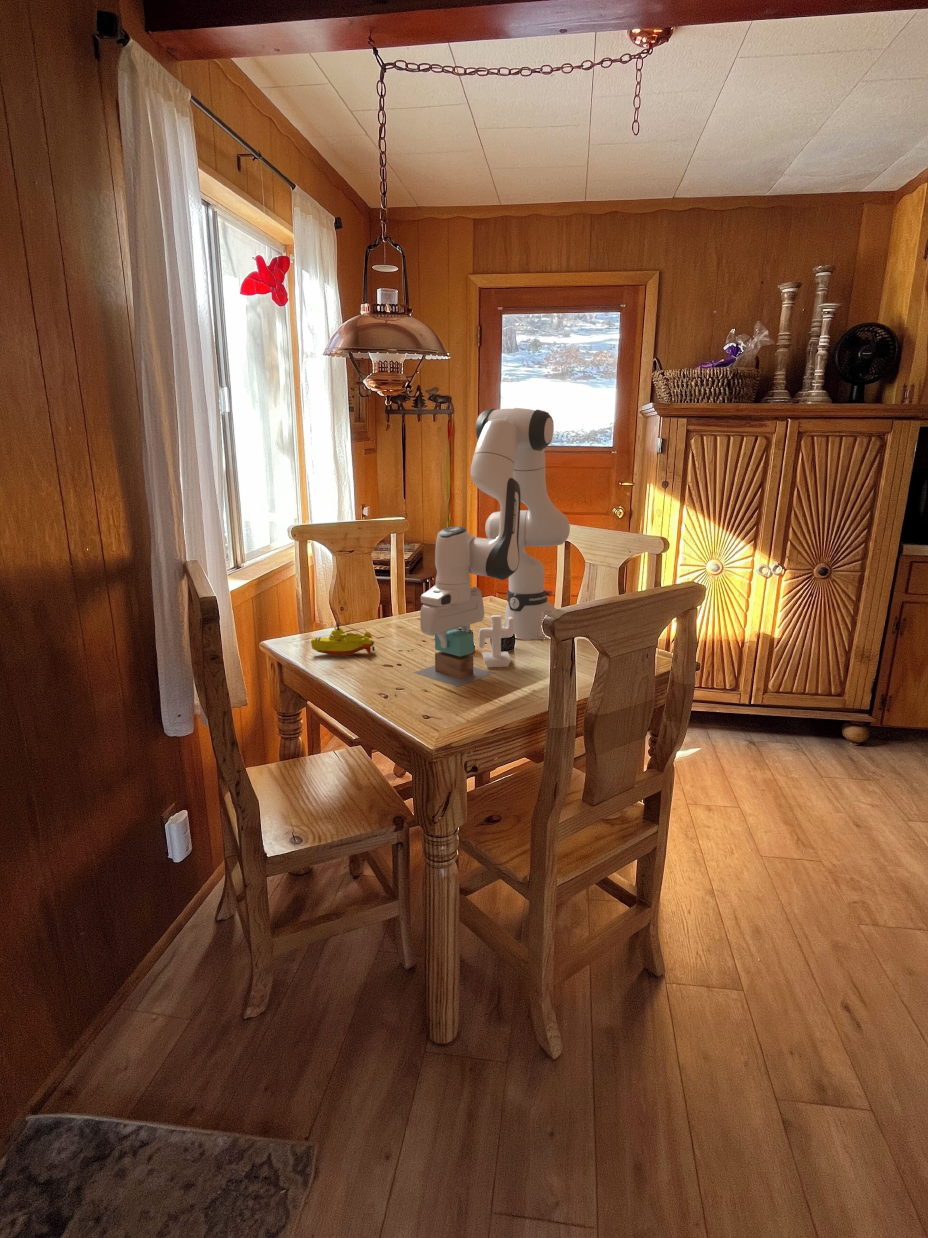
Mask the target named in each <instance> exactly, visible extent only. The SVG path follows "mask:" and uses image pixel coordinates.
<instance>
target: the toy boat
mask: <svg viewBox="0 0 928 1238" xmlns="http://www.w3.org/2000/svg"><path fill="white" fill-rule="evenodd" d="M339 625H342V626H344V627H347V628H349V629H351V630H354V631H356V632H358V633H360V634H358V633H352V632H350V633H349V632H347V631H346V630H344V629H343V628H341V627H340V626H339ZM346 632H347V633H346ZM361 634H363V635H361ZM373 638H374V637H373V635H372V634H371V632H370V631H365V633H364V632H362V631H359V630H357V629H354V628H353V627H350V626H347V625H346V624H344V623H340V622H339V621H337V626H336V627H334V629H333V630H331V632H330V634H329V636H328V637H326V636H325V637H320V636H319V637H314V638H312V639H311V641H310V644H311V649H312V650H314V651H316V652H318V653H321V654H326V655H329V656H334V657H336V656H352V655H354V654H355V653H358V652H360V651H362V650H366V652H367V654H368V655H371V654H372V653H371V650H372V652H375V650H376V649H375V645H374V644H375V640H373Z"/></svg>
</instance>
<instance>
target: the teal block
mask: <svg viewBox="0 0 928 1238" xmlns="http://www.w3.org/2000/svg"><path fill="white" fill-rule="evenodd" d="M461 630H462V629H461ZM461 630H460V629H458V628H457V629H453V630H450V631H447V635H446V636H445V637H446V639H447V640H449V641H450V646H449V647H447V648H442V647H441V641H440V639H439V637H438V636H437V634H436V635H434V649H435V651H437V652H440V651H442V652H445V653H449V654H452V655H456V656H459V657H461V656H464V655H467V654H469V655H471V654H472V653H474V651H475V649H474V647H475V645H474V642H475V641H474V640H475V639H474V637H475V636H474V632H470V631H469V632H465V631H461Z"/></svg>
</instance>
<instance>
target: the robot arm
mask: <svg viewBox="0 0 928 1238" xmlns="http://www.w3.org/2000/svg"><path fill="white" fill-rule="evenodd" d="M554 429H555V428H554V419H553V417H552V416H551V414H550V413H549V412H547V411H545V410H542V409H535V410H534V409H528V408H522V407H520V408H519V407H514V408H499V409H496V408H489V409H486V410H483V411H482V412H481V413H480V414H479V415H478V417H477V418H476V422H475V437H476V439H477V442H476V446H475V449H474V453H473V456H472V461H471V466H470V477H471V481H472V482H473V484H474V485H475V487H477V489H479V490H480V491H481V492H482V493H484V494H486V495H488V496H490V497H491V498H493V499H495V500H496V501H498V504H499V507H500V508H499V509H500V510H499V511H494V512H492V513H491V514H490V515H488V517H487V519H486V520H485V527H484V528H485V529H484V530H485V534H486V537H485V538H484V537H479V536H478V537H477V536H474V535H471V534H469V532H468V529H467V528H466V527H462V526H451V527H450V526H449V527H446V528H443V529H441V530H440V531H438V533H437V536H436V540H435V541H436V542H435V549H434V550H435V553H434V565H435V568H436V576H435V584H434V585H433V586H432V587H431V588H429V589H428V590H427V591H425V592H424V593H422V594H421V596H420V602H421V603H422V605H421V607H420V613H419V614H420V615H419V620H420V621H419V623H420V625H419V626H420V627H419V628H420V630H421V632H422V633H423V634H424V635H427V636H431V637H432V636H435V635H436V634H437V636H438V637H439V639H440V641H441V647H442V648H447V647H449V646H450V641H449V640H447V639H446V637H445V636H446V635H447V631H450V630H453V629H457V630H458V629H460V628H461V631H465V632H469V633H470V629H471V625H474V624H476V623H479V622H482V621H483V620H484V618H485V606H484V599H483V597H482V590H481V589H480V588H479V587H478V586H474V587H473V586H472V585H471V576H470V575H475V576H483V577H489V578H493V579H497V580H501V581H503V580H507V579H508V589H507V592H506V593H507V594H506V599H507V600H506V601H507V604H506V606H505V612H504V623H503V625H501V627H507V626H508V618H509V617H513V618H514V633H515V634H516V636H517V639H518V640H550V639H549V638H547V637H545V635H544V634H543V632H542V628H541V625H542V621H543V619H544V617H545V615H547V614H550V613H551V612H552V611H553V610H555V609H557V608H556V607H555V606H554V605H553V604H551V602H550V601H548V597H552V596H553V590H552V589H547V588H546V589H545V567H544V565H543V563H542V562H541V561H540V560H539V559H537V558H535V557H533V556H531V555H530V554H528V553H527V550H526V547H527V548H528V547H533V548H534V547H535V548H536V547H537V548H538V547H540V548H542V547H543V548H549V547H555V546H556V547H557V546H562V545H563V544H564V543H565V542H566V541H567V540H568V538H569V535H570V532H571V525H570V521H569V519H568V517H567V516H566V515H565V514H564V513H563V512H562V511H560V510H559V509H558V508H557V507H556V506H555V505H554V503H553V502H552V501H551V499H550V496H549V494H548V490H547V484H546V483H547V480H546V454H545V453H546V452H545V449H546V448H548V446H549V445H550V444H551V442H552V440H553V437H554V431H555V430H554ZM521 503H523V504H524V505H525V507H527V509H525V510H522V509H521ZM471 586H472V587H471ZM544 638H545V639H544Z"/></svg>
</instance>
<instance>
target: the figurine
mask: <svg viewBox="0 0 928 1238" xmlns="http://www.w3.org/2000/svg"><path fill="white" fill-rule="evenodd" d="M502 617H503V616H502V615H500V614H493V615H491V616H490V621H491V627H482V628H480V629H479V631H478V647H479V648H480V649H484V648H485V646H486V639H491V651H489V652H488V651H485V652H481V655H482V657H483V660H484V663H485V665H486V667H487V668H505V667H507V668H508V667H509V665H510V663H511V662H512V658H511V655H510V653H509V652H508V651H502V644H501V643H502V638H503V639H504V638H510V637H512V636H513V634H514V618H513V617H509V618H508V626H507V627H502V622H503V618H502Z"/></svg>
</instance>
